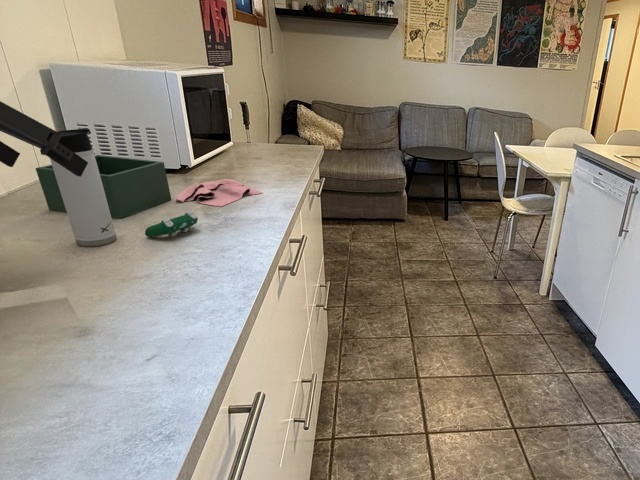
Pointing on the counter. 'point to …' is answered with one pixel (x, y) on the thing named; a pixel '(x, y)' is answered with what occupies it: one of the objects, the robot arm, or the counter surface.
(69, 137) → the travel mug
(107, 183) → the tote
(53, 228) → the counter surface
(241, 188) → the cloth
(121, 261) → the counter surface
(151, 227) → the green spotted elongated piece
